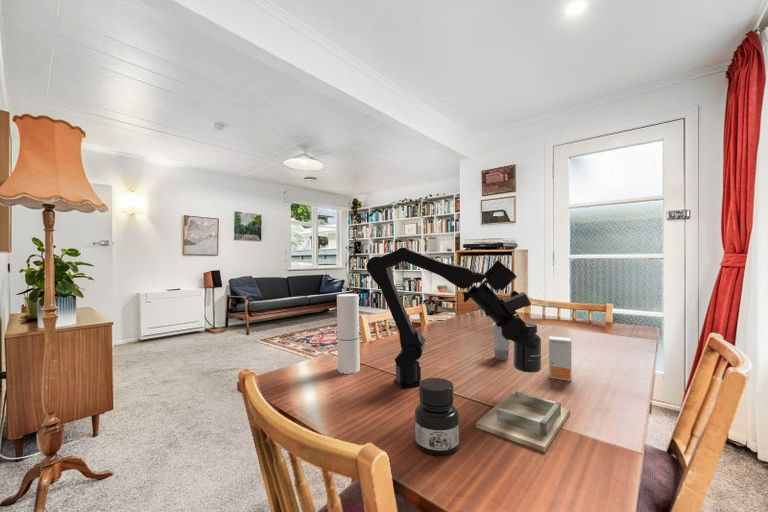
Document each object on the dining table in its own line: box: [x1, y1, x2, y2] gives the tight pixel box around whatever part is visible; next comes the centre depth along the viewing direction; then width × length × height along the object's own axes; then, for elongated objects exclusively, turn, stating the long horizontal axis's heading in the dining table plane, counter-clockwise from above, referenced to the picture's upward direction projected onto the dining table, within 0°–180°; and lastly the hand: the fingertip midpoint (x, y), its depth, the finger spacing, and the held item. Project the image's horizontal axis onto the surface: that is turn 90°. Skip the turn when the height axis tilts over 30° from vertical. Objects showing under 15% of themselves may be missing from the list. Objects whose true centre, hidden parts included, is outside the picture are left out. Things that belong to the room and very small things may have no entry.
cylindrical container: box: [336, 293, 361, 375], centre depth 108 cm, size 7×7×25 cm
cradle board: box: [475, 390, 571, 453], centre depth 74 cm, size 14×20×4 cm
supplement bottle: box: [513, 322, 542, 374], centre depth 88 cm, size 7×7×12 cm
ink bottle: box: [414, 377, 460, 456], centre depth 66 cm, size 10×9×12 cm
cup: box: [490, 322, 511, 361], centre depth 118 cm, size 7×7×12 cm
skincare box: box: [548, 335, 572, 382], centre depth 99 cm, size 6×4×12 cm
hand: (532, 344), depth 88 cm, fingers closed on supplement bottle, 7 cm apart
